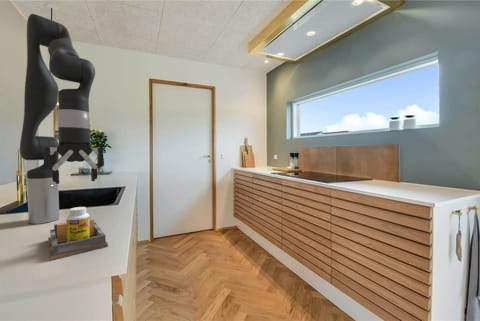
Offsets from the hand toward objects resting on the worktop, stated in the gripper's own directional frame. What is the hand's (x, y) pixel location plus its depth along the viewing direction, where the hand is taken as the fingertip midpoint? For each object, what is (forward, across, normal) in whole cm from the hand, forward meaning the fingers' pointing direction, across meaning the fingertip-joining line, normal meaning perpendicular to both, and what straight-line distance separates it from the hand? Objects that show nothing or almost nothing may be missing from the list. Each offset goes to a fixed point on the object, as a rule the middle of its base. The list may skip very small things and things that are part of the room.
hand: (75, 182), depth 67 cm
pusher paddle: (+18, 0, -3) cm, 18 cm away
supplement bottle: (+18, 0, 0) cm, 18 cm away
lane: (+19, 0, -1) cm, 19 cm away
